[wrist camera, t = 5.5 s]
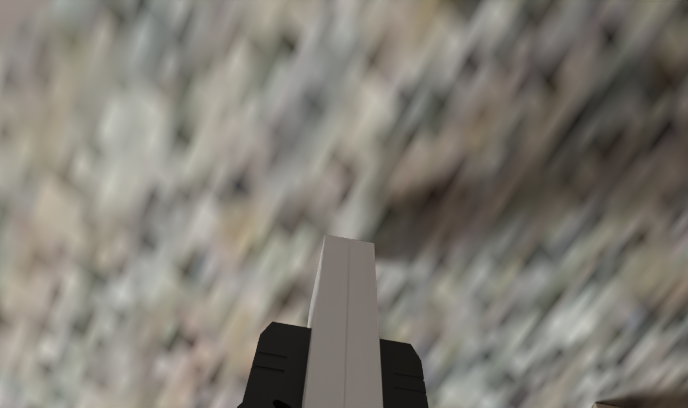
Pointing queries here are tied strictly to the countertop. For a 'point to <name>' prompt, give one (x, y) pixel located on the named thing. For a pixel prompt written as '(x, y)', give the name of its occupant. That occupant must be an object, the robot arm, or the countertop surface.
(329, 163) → the countertop surface
